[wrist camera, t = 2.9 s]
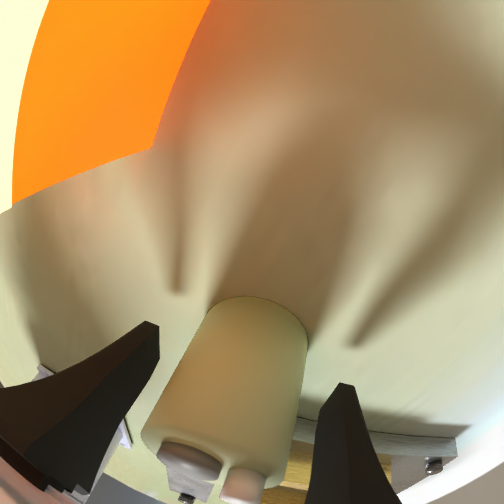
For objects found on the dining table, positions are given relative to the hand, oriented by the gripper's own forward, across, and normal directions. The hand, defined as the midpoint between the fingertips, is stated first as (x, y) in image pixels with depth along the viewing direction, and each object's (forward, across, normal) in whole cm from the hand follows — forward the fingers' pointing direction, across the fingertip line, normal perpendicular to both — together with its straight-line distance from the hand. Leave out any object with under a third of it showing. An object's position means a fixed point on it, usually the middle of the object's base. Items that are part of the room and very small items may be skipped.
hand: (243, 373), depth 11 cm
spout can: (+2, 0, 0) cm, 2 cm away
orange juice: (+2, +8, -12) cm, 15 cm away
